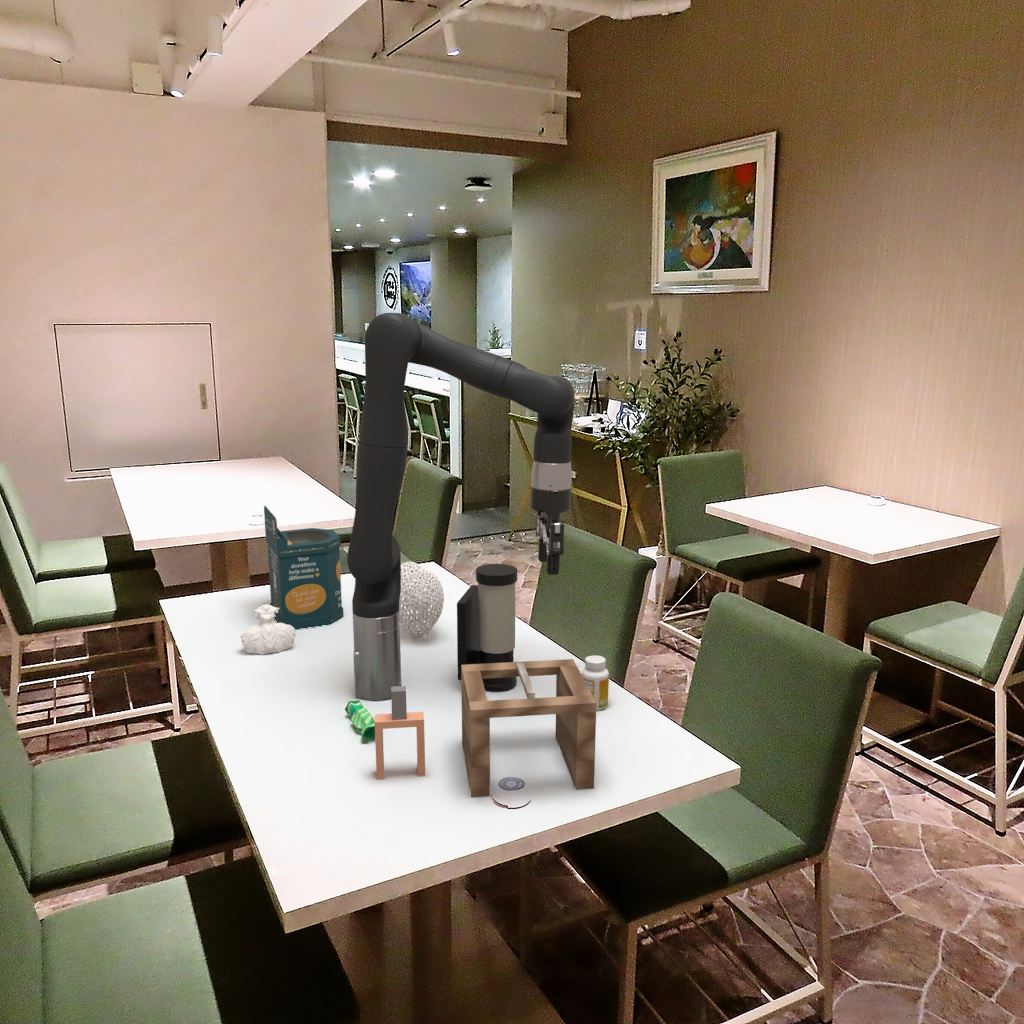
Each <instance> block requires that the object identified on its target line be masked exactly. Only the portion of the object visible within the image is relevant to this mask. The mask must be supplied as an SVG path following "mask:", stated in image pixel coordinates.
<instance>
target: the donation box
mask: <svg viewBox="0 0 1024 1024" xmlns="http://www.w3.org/2000/svg"><path fill="white" fill-rule="evenodd" d="M263 512H264V514H263V515H264V528H265V529H264V532H265V533H264V534H265V543H266V544H267V559H268V572H269V573H268V574H269V576H268V577H269V592H270V602H269V605H271V606H273V607H276V608H280V609H279V610H278V613H276V612H275V615H276V617H274V618H275V619H274V618H273V619H274V621H275V620H276V621H277V622H276V621H275V622H276V623H284V624H286V625H291V626H292V627H294V629H299V630H301V629H300V628H306V629H309V628H308V627H312V628H316V627H315V626H319V627H323V626H322V625H327V626H332V625H333V624H335V623H337V622H338V621H340V620H341V619H343V618H344V615H345V614H344V608H343V605H342V604H343V603H342V602H343V601H342V580H341V579H342V577H341V556H340V555H341V554H340V552H341V551H340V548H341V546H342V543H341V536H340V535H339V534H338V533H337V532H336V531H334V530H333V529H326V528H325V529H324V528H315V527H308V528H298V529H291V530H290V529H289V530H280V529H279V528H278V521H277V517H276V516H275V515H274V514H273V513H272V512H271V510H270V509H269V508H268V507H267V505H264V506H263ZM342 617H343V618H342ZM337 620H338V621H337ZM334 622H335V623H334ZM332 623H333V624H332ZM329 624H330V625H329ZM331 624H332V625H331Z"/></svg>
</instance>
